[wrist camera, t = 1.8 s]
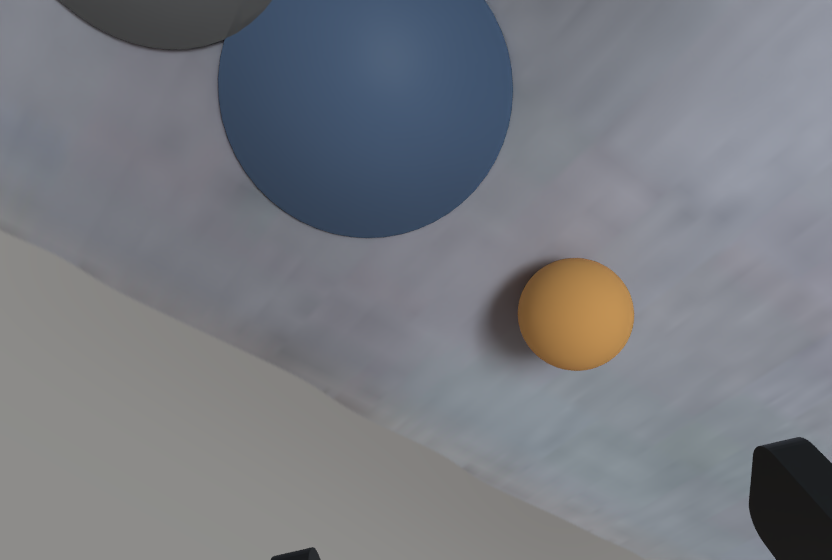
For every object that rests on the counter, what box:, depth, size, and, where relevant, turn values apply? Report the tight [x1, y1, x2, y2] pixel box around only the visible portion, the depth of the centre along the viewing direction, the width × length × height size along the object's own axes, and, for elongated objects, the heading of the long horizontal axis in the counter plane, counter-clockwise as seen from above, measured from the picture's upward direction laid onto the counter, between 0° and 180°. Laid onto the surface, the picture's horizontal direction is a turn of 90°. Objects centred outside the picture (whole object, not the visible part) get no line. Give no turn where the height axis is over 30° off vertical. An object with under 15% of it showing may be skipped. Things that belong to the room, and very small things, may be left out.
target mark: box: [218, 0, 513, 238], centre depth 29 cm, size 14×14×1 cm
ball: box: [518, 258, 634, 371], centre depth 32 cm, size 6×6×6 cm
